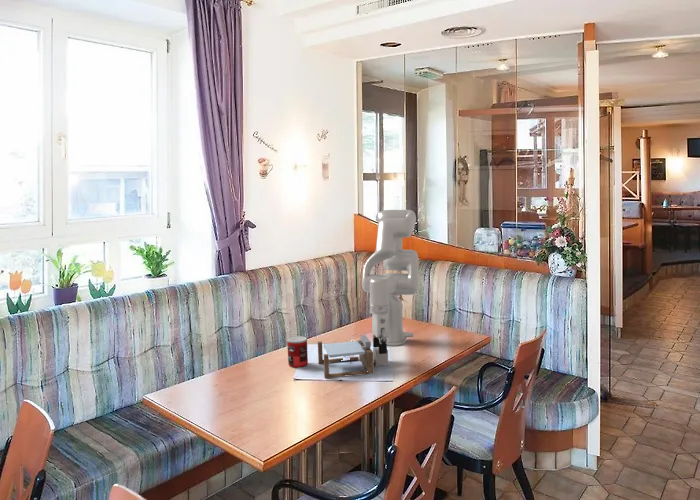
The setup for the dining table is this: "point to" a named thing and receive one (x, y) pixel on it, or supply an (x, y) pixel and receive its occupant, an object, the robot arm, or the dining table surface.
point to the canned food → (297, 351)
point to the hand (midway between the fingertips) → (379, 350)
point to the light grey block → (379, 357)
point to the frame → (364, 358)
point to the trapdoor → (348, 347)
